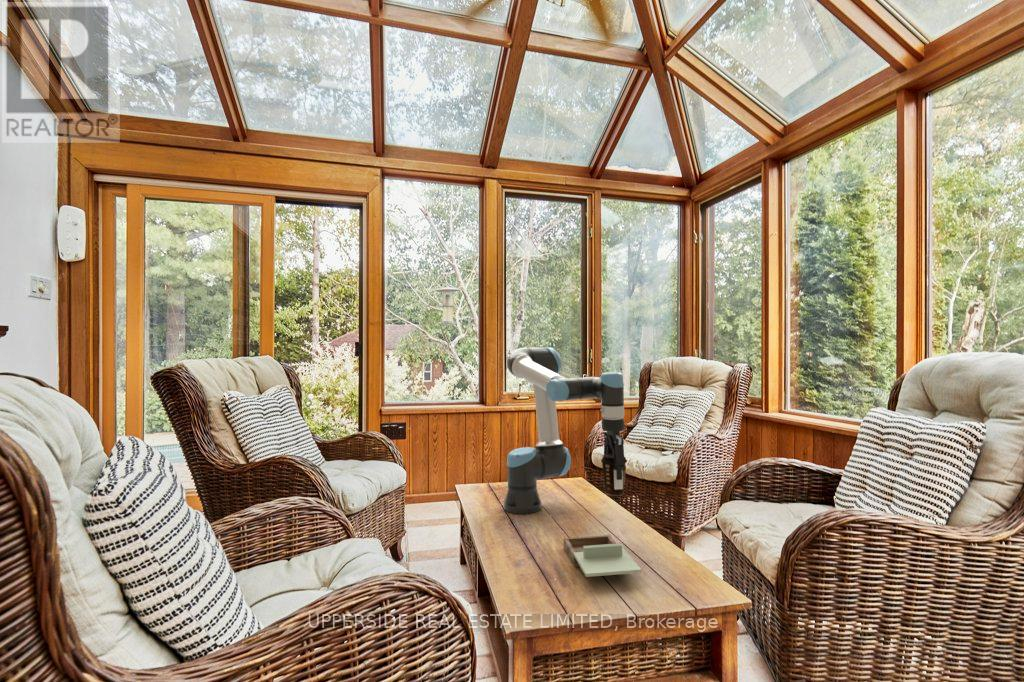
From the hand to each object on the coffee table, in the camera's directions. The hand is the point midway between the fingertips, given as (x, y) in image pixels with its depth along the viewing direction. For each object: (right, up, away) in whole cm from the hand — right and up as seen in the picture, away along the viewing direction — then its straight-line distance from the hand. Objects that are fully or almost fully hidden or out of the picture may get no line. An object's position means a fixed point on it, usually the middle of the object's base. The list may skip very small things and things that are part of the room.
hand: (614, 485), depth 169 cm
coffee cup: (0, -3, 0) cm, 3 cm away
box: (-10, -17, -16) cm, 25 cm away
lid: (-8, -14, -29) cm, 33 cm away
